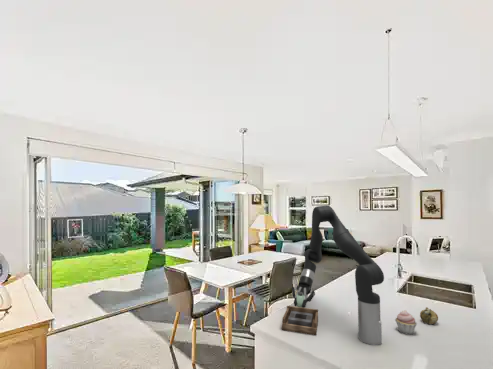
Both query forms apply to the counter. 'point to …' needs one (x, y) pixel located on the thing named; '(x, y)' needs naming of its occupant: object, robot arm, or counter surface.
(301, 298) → the mint green cylinder
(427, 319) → the olive green pumpkin
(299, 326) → the box
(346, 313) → the counter surface
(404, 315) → the cupcake
